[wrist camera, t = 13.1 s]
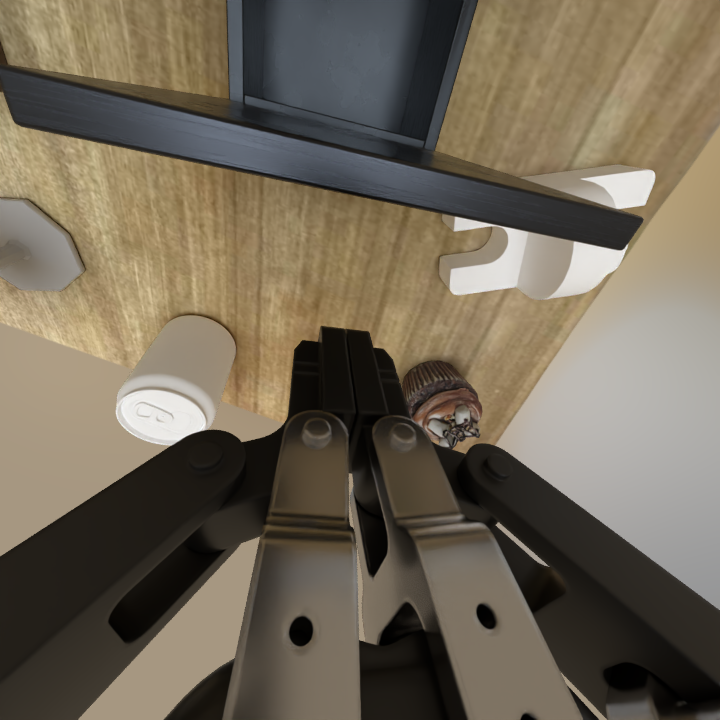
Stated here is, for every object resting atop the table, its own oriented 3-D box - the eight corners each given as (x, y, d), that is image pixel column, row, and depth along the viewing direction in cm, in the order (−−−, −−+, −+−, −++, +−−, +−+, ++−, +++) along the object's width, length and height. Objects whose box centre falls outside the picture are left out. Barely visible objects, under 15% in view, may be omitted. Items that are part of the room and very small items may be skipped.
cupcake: (437, 342, 41) (465, 397, 33) (475, 379, 46) (508, 434, 38) (382, 385, 45) (396, 443, 37) (423, 415, 50) (443, 472, 42)
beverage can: (219, 378, 41) (190, 458, 32) (151, 349, 37) (96, 429, 28) (249, 335, 38) (227, 409, 28) (178, 298, 34) (126, 370, 25)
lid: (-11, 61, 5) (12, 126, 5) (647, 218, 7) (623, 252, 8) (227, 98, 18) (227, 116, 18) (437, 151, 20) (432, 165, 21)
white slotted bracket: (443, 187, 30) (489, 214, 22) (628, 162, 31) (739, 180, 23) (438, 282, 36) (473, 330, 28) (593, 260, 37) (671, 302, 28)
